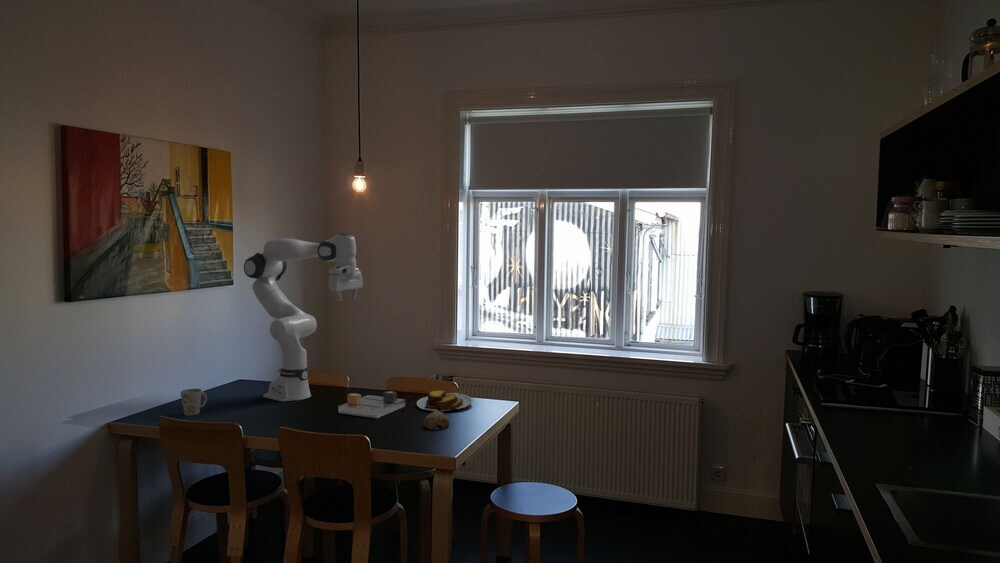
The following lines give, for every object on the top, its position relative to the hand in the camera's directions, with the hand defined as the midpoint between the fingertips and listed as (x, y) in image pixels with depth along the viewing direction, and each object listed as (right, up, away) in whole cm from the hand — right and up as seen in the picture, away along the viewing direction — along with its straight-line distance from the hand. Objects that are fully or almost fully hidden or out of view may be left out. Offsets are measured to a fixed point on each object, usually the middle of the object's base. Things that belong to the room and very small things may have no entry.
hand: (346, 299), depth 299 cm
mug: (-63, -49, -11) cm, 81 cm away
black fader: (+20, -45, -3) cm, 50 cm away
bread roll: (+43, -51, -30) cm, 73 cm away
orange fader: (+5, -45, -8) cm, 46 cm away
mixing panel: (+13, -48, -5) cm, 50 cm away
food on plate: (+44, -49, +1) cm, 66 cm away
